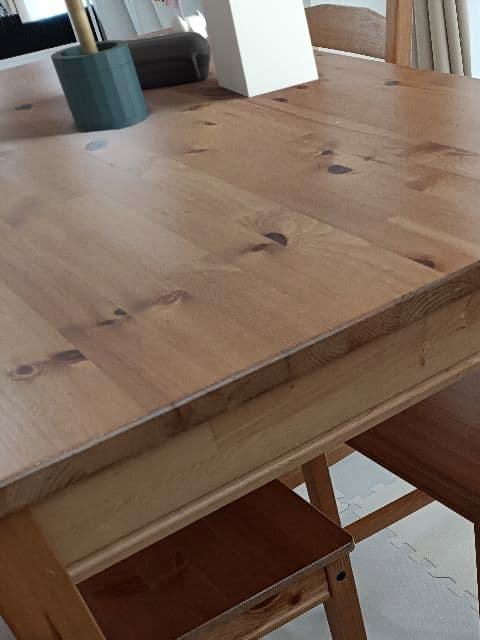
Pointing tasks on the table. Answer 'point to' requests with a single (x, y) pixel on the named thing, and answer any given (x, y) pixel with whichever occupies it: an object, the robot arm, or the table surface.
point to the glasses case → (170, 58)
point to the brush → (82, 26)
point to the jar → (101, 86)
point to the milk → (259, 44)
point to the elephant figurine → (190, 24)
